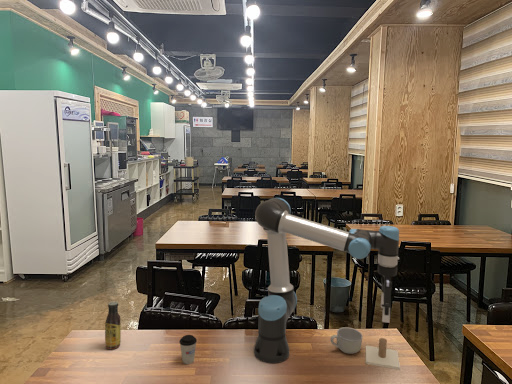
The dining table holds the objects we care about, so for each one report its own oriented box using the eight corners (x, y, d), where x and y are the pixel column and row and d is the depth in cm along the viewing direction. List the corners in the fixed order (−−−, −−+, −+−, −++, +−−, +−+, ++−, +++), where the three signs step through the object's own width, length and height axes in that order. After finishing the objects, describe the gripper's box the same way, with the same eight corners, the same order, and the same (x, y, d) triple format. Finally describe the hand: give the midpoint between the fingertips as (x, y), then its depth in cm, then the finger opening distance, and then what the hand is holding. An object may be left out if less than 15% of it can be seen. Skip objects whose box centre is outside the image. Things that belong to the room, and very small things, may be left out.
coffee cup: (176, 360, 150) (176, 337, 149) (191, 354, 155) (191, 331, 154) (184, 368, 145) (184, 344, 144) (200, 361, 150) (200, 338, 148)
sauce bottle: (102, 349, 157) (100, 305, 155) (111, 341, 164) (109, 299, 161) (115, 351, 156) (114, 306, 154) (124, 344, 162) (123, 300, 160)
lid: (365, 363, 149) (366, 345, 148) (365, 347, 161) (366, 330, 160) (399, 369, 145) (401, 350, 144) (397, 352, 158) (398, 334, 157)
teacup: (357, 343, 165) (358, 327, 164) (365, 357, 154) (366, 339, 153) (326, 344, 165) (327, 327, 164) (332, 357, 154) (333, 339, 153)
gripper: (400, 275, 136) (397, 330, 138) (395, 256, 159) (392, 303, 162) (378, 273, 138) (376, 327, 140) (376, 255, 162) (374, 301, 164)
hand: (384, 314), depth 151 cm, fingers open, 13 cm apart
